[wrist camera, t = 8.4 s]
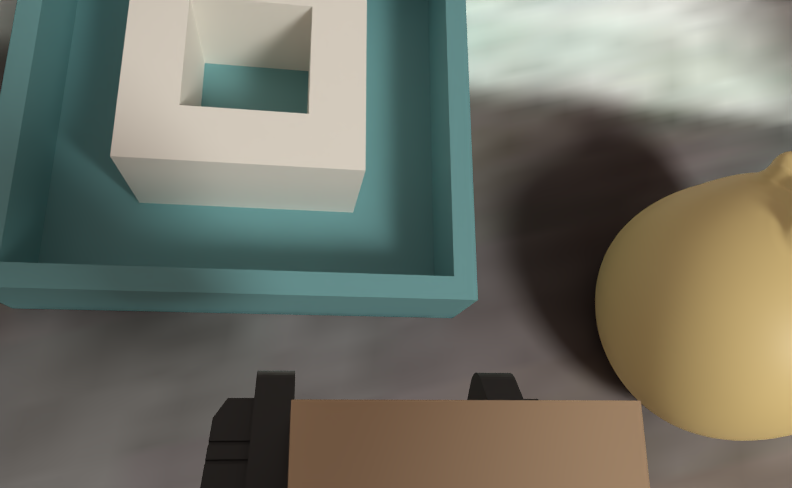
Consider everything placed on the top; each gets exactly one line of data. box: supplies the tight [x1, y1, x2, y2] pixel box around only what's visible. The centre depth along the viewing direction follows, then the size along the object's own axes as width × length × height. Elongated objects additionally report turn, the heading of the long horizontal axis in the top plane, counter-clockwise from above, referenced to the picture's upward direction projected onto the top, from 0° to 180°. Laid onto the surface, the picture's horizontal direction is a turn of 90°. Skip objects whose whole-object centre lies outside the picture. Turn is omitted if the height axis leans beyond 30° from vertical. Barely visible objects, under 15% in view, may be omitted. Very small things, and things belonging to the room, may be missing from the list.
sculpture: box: [595, 151, 792, 441], centre depth 29 cm, size 11×12×11 cm
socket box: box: [0, 0, 478, 318], centre depth 31 cm, size 20×20×6 cm
